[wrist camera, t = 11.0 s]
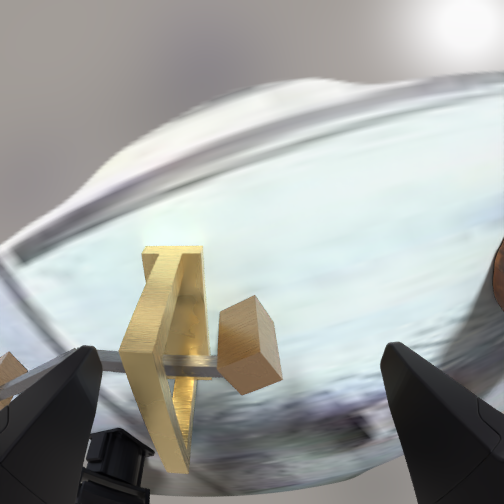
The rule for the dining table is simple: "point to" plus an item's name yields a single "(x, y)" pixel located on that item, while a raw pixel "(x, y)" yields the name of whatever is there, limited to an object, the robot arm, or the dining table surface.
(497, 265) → the brown flower pot
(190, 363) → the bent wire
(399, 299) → the dining table surface
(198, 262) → the wooden frame
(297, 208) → the dining table surface
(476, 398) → the robot arm
